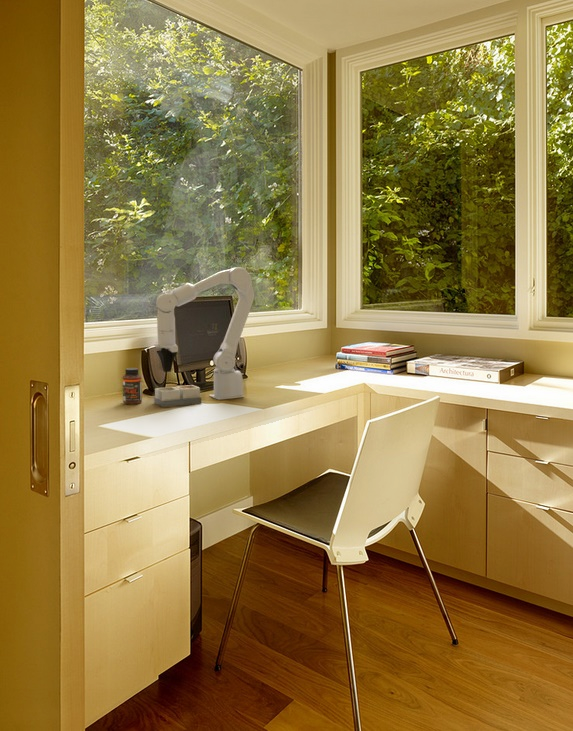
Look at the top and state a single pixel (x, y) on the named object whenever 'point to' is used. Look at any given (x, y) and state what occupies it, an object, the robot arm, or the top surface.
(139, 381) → the supplement bottle
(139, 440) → the top surface
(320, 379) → the top surface
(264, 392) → the top surface
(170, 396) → the knob mount
